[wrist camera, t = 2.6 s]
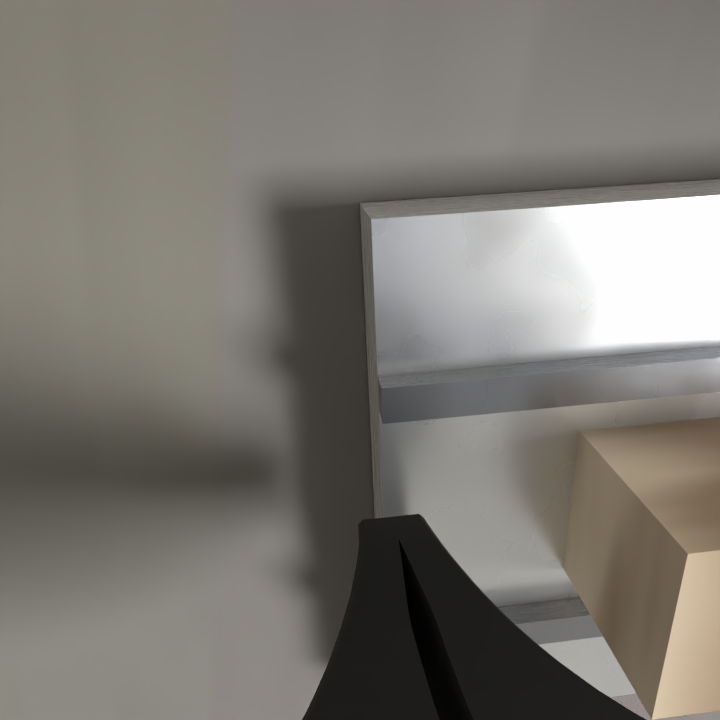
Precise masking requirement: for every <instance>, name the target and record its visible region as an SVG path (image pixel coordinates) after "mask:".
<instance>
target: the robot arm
mask: <svg viewBox="0 0 720 720" xmlns="http://www.w3.org/2000/svg"><path fill="white" fill-rule="evenodd" d="M358 530H359V552H358V559H357V566H356V571H355V576H354V581H353V586H352V591H351V595H350V599H349V602H348V606H347V609H346V613H345V616H344V620H343V623H342V626H341V629H340V632H339V635H338V638H337V641H336V644H335V647H334V650H333V652H332V655H331V657H330V660H329V662H328V665H327V668H326V670H325V672H324V674H323V677H322V679H321V681H320V684H319V686H318V688H317V690H316V693H315V695H314V697H313V699H312V701H311V703H310V706H309V708H308V710H307V712H306V714H305V715H304V717H303V719H302V720H646V719H644V718H642V717H640V716H639V715H637V714H635V713H633V712H632V711H630V710H629V709H627V708H625V707H624V706H622V705H621V704H619V703H618V702H616V701H614V700H613V699H611V698H610V697H608V696H607V695H605V694H604V693H602V692H600V691H599V690H597V689H596V688H595V687H593V686H592V685H591V684H589V683H588V682H586V681H585V680H584V679H582V678H581V677H579V676H578V675H577V674H575V673H574V672H573V671H571V670H570V669H568V668H567V667H566V666H564V665H563V664H562V663H560V662H559V661H558V660H556V659H555V658H554V657H553V656H551V655H550V654H549V653H548V652H547V651H545V650H544V649H543V648H542V647H540V646H539V645H538V644H537V643H536V642H534V641H533V640H532V639H531V638H530V637H529V636H528V635H527V634H525V633H524V632H523V631H522V630H521V629H520V628H519V627H517V626H516V625H515V624H514V623H513V622H512V621H511V620H510V619H509V618H508V617H507V616H506V615H505V614H504V613H503V612H502V611H501V610H500V609H499V608H498V607H497V606H496V605H495V604H494V603H493V602H492V601H491V600H490V599H489V598H488V597H487V596H486V595H485V594H484V593H483V592H482V591H481V589H480V588H479V587H478V586H477V585H476V584H475V583H474V582H473V581H472V579H471V578H470V577H469V576H468V575H467V574H466V573H465V571H464V570H463V569H462V568H461V567H460V566H459V564H458V563H457V562H456V561H455V560H454V558H453V557H452V556H451V555H450V553H449V552H448V551H447V549H446V548H445V547H444V546H443V544H442V543H441V542H440V540H439V539H438V538H437V536H436V535H435V533H434V532H433V531H432V529H431V528H430V526H429V525H428V523H427V522H426V520H425V519H424V517H422V516H421V515H420V514H412V515H403V516H393V517H384V518H375V519H366V520H362V521H361V522H360V523H359V524H358Z"/></svg>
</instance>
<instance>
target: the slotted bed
mask: <svg viewBox="0 0 720 720" xmlns="http://www.w3.org/2000/svg"><path fill="white" fill-rule="evenodd" d="M360 217H361V238H362V259H363V280H364V302H365V323H366V344H367V365H368V386H369V407H370V428H371V449H372V470H373V491H374V512H375V518H384V517H393V516H403V515H412V514H420V515H421V516H422V517H424V519H425V520H426V522H427V523H428V525H429V526H430V528H431V529H432V531H433V532H434V533H435V535H436V536H437V538H438V539H439V540H440V542H441V543H442V544H443V546H444V547H445V548H446V549H447V551H448V552H449V553H450V555H451V556H452V557H453V558H454V560H455V561H456V562H457V563H458V564H459V566H460V567H461V568H462V569H463V570H464V571H465V573H466V574H467V575H468V576H469V577H470V578H471V579H472V581H473V582H474V583H475V584H476V585H477V586H478V587H479V588H480V589H481V591H482V592H483V593H484V594H485V595H486V596H487V597H488V598H489V599H490V600H491V601H492V602H493V603H494V604H495V605H496V606H497V607H498V608H499V609H500V610H501V611H502V612H503V613H504V614H505V615H506V616H507V617H508V618H509V619H510V620H511V621H512V622H513V623H514V624H515V625H516V626H517V627H519V628H520V629H521V630H522V631H523V632H524V633H525V634H527V635H528V636H529V637H530V638H531V639H532V640H533V641H534V642H536V643H537V644H538V645H539V646H540V647H542V648H543V649H544V650H545V651H547V652H548V653H549V654H550V655H551V656H553V657H554V658H555V659H556V660H558V661H559V662H560V663H562V664H563V665H564V666H566V667H567V668H568V669H570V670H571V671H573V672H574V673H575V674H577V675H578V676H579V677H581V678H582V679H584V680H585V681H586V682H588V683H589V684H591V685H592V686H593V687H595V688H596V689H597V690H599V691H600V692H602V693H604V694H605V695H607V696H608V697H614V696H621V695H628V694H636V692H635V690H634V688H633V687H632V685H631V683H630V682H629V680H628V678H627V676H626V675H625V673H624V671H623V670H622V668H621V666H620V665H619V663H618V661H617V659H616V658H615V656H614V654H613V653H612V651H611V649H610V647H609V646H608V644H607V642H606V641H605V639H604V637H603V635H602V634H601V632H600V630H599V629H598V627H597V625H596V624H595V622H594V620H593V618H592V617H591V615H590V613H589V612H588V610H587V608H586V606H585V605H584V603H583V601H582V600H581V598H580V596H579V595H578V593H577V591H576V589H575V588H574V586H573V584H572V583H571V581H570V579H569V577H568V576H567V574H566V572H565V571H564V562H565V553H566V544H567V535H568V526H569V518H570V509H571V500H572V491H573V482H574V474H575V465H576V456H577V447H578V438H579V431H582V430H593V429H603V428H613V427H623V426H633V425H643V424H653V423H663V422H673V421H683V420H694V419H704V418H714V417H720V179H712V180H697V181H682V182H666V183H651V184H636V185H621V186H606V187H591V188H576V189H561V190H546V191H531V192H516V193H501V194H486V195H470V196H455V197H440V198H425V199H410V200H395V201H380V202H365V203H360Z"/></svg>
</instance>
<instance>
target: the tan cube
mask: <svg viewBox="0 0 720 720" xmlns="http://www.w3.org/2000/svg"><path fill="white" fill-rule="evenodd" d="M564 571H565V572H566V574H567V576H568V577H569V579H570V581H571V583H572V584H573V586H574V588H575V589H576V591H577V593H578V595H579V596H580V598H581V600H582V601H583V603H584V605H585V606H586V608H587V610H588V612H589V613H590V615H591V617H592V618H593V620H594V622H595V624H596V625H597V627H598V629H599V630H600V632H601V634H602V635H603V637H604V639H605V641H606V642H607V644H608V646H609V647H610V649H611V651H612V653H613V654H614V656H615V658H616V659H617V661H618V663H619V665H620V666H621V668H622V670H623V671H624V673H625V675H626V676H627V678H628V680H629V682H630V683H631V685H632V687H633V688H634V690H635V692H636V694H637V695H638V697H639V699H640V700H641V702H642V704H643V705H644V707H645V709H646V711H647V712H648V714H649V716H650V717H651V719H652V720H653V719H660V718H667V717H674V716H681V715H688V714H696V713H703V712H710V711H717V710H720V417H714V418H704V419H694V420H683V421H673V422H663V423H653V424H643V425H633V426H623V427H613V428H603V429H593V430H582V431H579V438H578V447H577V456H576V465H575V474H574V482H573V491H572V500H571V509H570V518H569V526H568V535H567V544H566V553H565V562H564Z"/></svg>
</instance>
